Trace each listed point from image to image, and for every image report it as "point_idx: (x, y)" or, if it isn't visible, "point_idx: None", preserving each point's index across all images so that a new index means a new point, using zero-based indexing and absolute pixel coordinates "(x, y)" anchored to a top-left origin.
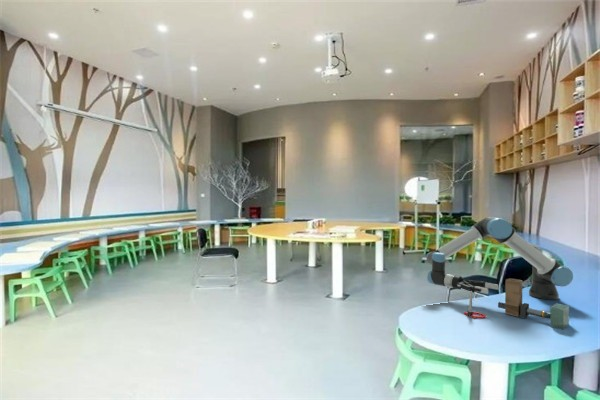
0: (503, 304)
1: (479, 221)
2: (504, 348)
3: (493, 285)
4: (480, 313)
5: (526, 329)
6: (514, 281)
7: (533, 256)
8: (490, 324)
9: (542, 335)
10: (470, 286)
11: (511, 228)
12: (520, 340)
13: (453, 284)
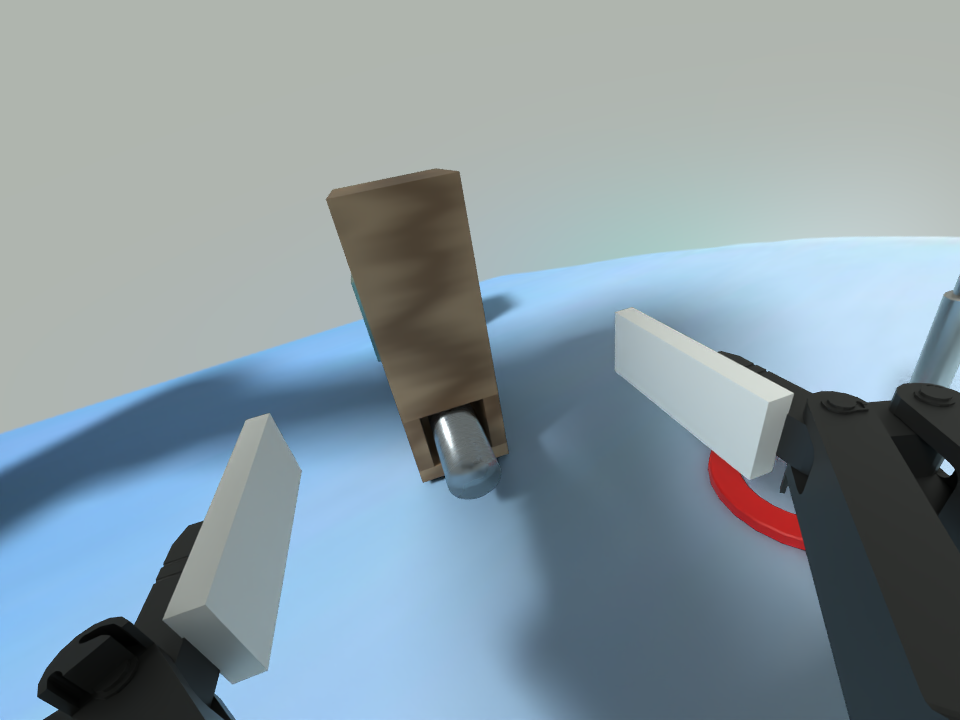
0: (478, 429)
1: None
2: (821, 256)
3: (265, 473)
4: (739, 487)
5: (598, 326)
6: (441, 169)
7: None
8: None
9: (587, 299)
10: (928, 417)
11: None
12: (712, 282)
13: None
